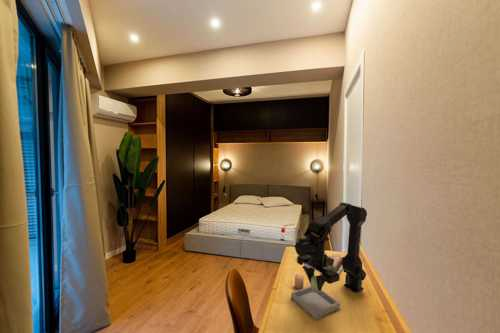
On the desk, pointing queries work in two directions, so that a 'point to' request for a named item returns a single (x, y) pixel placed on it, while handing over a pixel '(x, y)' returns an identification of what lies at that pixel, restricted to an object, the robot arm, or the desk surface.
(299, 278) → the terracotta part
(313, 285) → the sage part
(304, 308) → the tray
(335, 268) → the packaged product
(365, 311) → the desk surface
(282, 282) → the desk surface
